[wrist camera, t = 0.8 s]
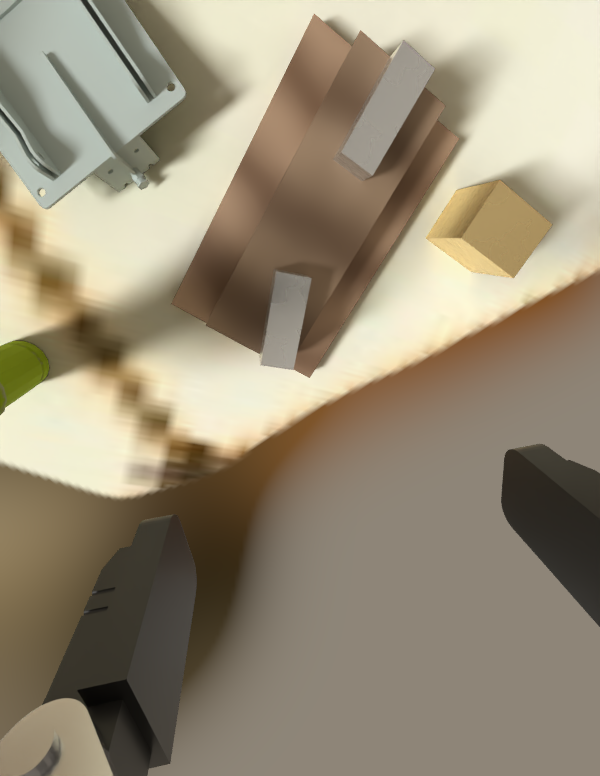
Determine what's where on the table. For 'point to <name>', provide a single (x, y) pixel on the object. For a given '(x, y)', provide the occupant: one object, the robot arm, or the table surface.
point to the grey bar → (361, 159)
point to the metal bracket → (79, 94)
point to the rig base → (267, 177)
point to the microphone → (20, 370)
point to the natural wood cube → (489, 229)
